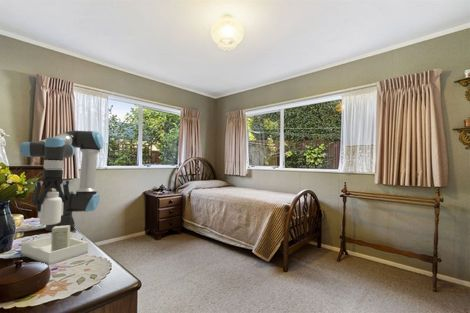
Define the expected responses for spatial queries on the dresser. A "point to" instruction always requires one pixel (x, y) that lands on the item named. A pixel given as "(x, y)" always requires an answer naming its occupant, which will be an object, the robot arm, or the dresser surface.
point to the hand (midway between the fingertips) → (50, 216)
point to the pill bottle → (51, 209)
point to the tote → (42, 251)
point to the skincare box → (60, 237)
